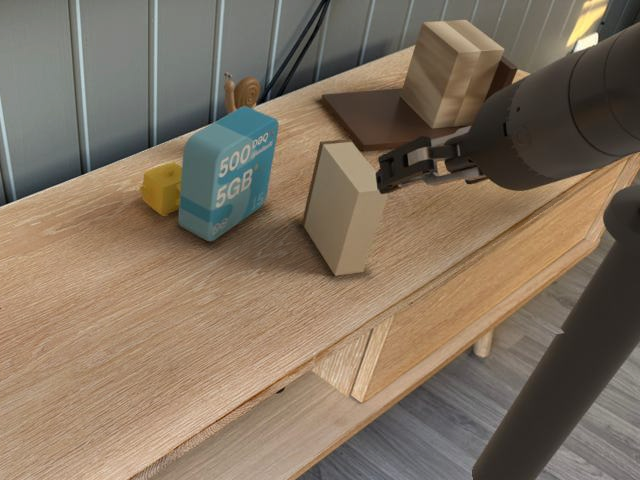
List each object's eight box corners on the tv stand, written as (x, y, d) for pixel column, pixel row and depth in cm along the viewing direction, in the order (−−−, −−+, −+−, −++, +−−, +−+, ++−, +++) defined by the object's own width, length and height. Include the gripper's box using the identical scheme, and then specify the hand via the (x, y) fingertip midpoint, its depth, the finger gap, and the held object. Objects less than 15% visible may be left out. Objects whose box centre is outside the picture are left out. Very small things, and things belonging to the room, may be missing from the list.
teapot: (156, 231, 84) (157, 193, 80) (128, 207, 87) (128, 170, 83) (208, 209, 87) (212, 173, 84) (180, 187, 91) (182, 151, 87)
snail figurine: (203, 152, 97) (211, 65, 88) (236, 138, 100) (247, 52, 91) (231, 169, 94) (242, 81, 85) (264, 154, 97) (278, 68, 88)
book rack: (437, 91, 112) (464, 12, 104) (488, 139, 103) (523, 56, 94) (320, 100, 109) (338, 19, 100) (362, 151, 99) (385, 66, 90)
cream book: (328, 220, 87) (349, 138, 79) (363, 272, 80) (390, 188, 72) (301, 223, 86) (319, 141, 78) (334, 276, 80) (358, 192, 72)
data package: (206, 247, 82) (216, 154, 74) (176, 230, 84) (183, 138, 76) (265, 204, 89) (281, 115, 80) (236, 190, 91) (249, 101, 82)
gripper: (644, 58, 49) (489, 128, 65) (460, 72, 46) (346, 142, 62) (655, 167, 49) (499, 211, 65) (474, 188, 46) (357, 228, 62)
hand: (424, 177), depth 63 cm, fingers open, 8 cm apart
